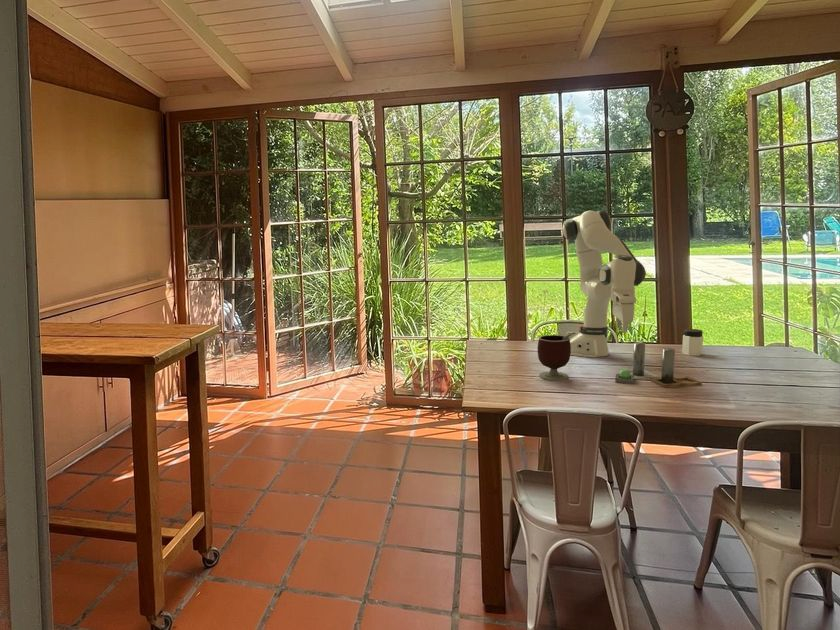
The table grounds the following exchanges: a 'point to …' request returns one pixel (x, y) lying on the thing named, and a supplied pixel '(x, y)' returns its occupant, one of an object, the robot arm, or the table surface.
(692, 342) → the jar
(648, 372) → the square tray
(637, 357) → the cylinder
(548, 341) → the mate gourd
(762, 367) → the table surface
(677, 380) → the tray
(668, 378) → the cylinder
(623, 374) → the button
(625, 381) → the switch box
